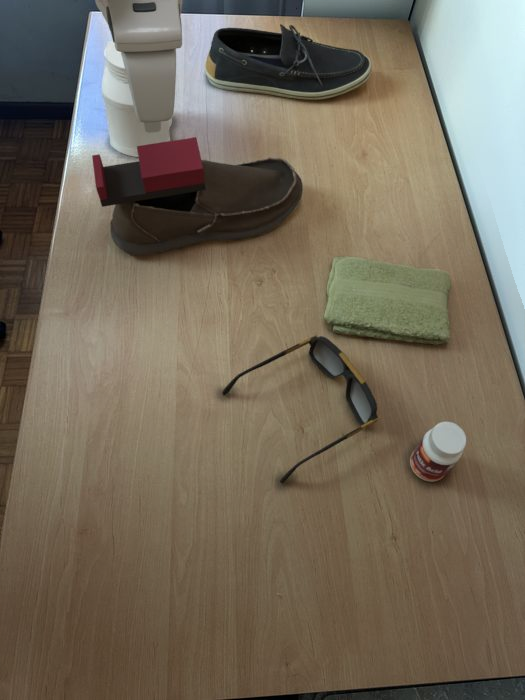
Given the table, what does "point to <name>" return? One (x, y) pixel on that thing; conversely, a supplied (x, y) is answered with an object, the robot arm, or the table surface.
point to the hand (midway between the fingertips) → (147, 101)
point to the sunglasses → (333, 366)
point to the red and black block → (151, 173)
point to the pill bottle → (438, 451)
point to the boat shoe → (283, 64)
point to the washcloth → (388, 301)
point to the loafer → (211, 208)
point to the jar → (125, 109)
